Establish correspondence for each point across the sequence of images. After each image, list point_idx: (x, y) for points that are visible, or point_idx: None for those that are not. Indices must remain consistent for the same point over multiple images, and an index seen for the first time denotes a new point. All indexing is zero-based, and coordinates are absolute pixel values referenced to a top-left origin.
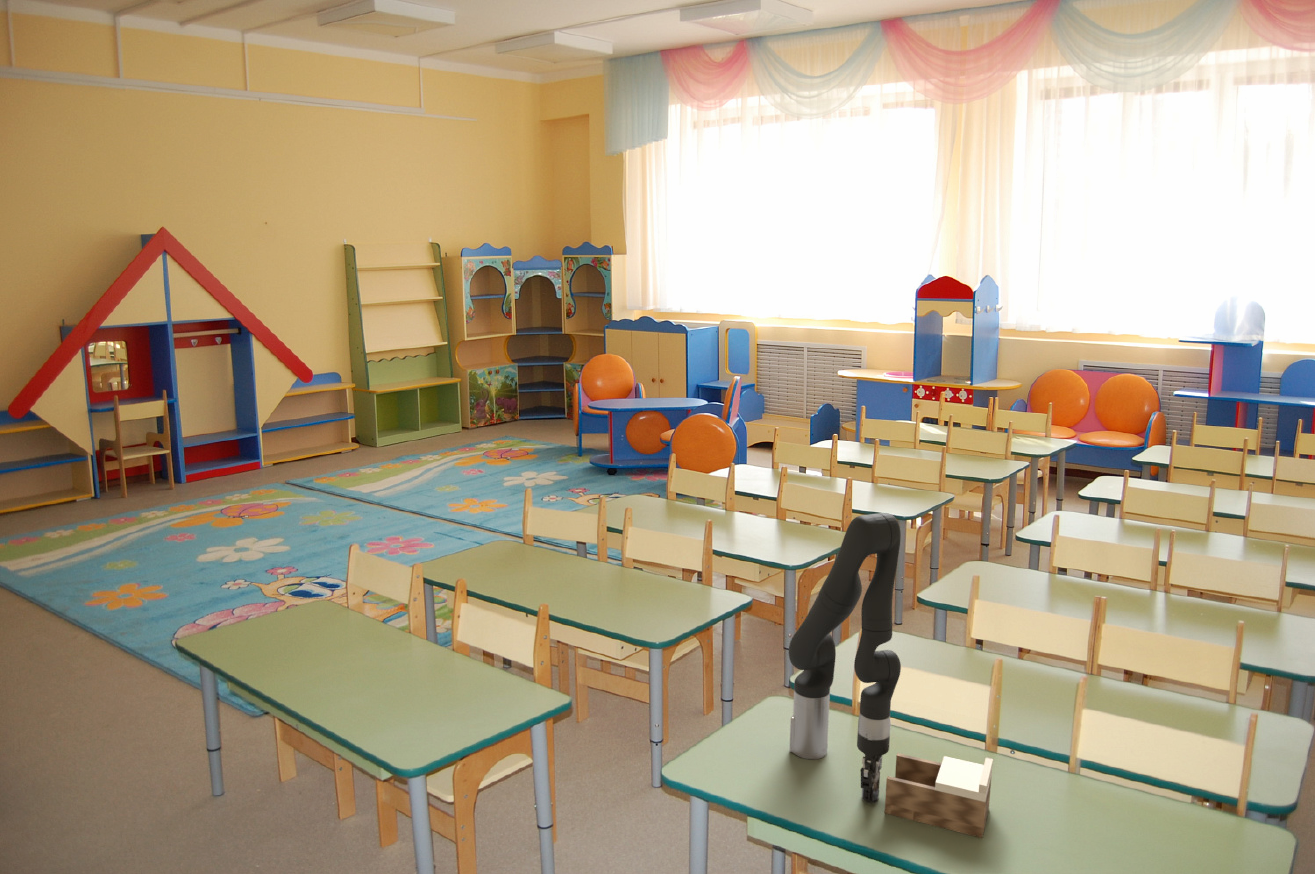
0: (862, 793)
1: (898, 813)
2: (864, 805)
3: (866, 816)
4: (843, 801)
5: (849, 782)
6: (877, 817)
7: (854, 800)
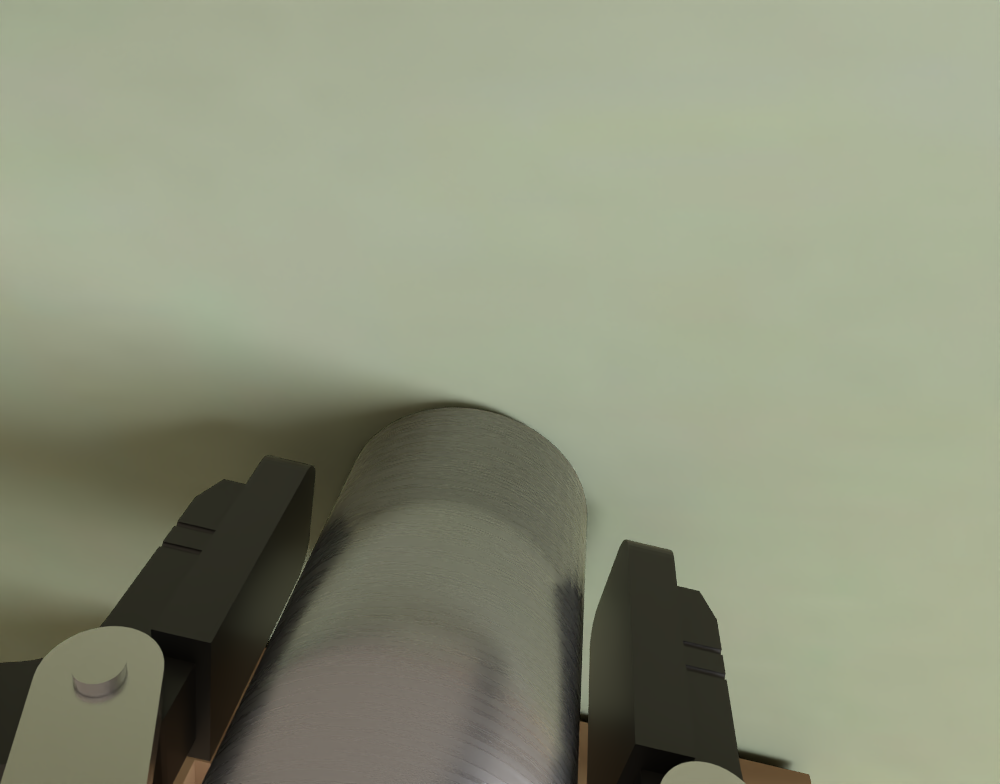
0: (391, 466)
1: None
2: (277, 430)
3: (40, 443)
4: (255, 119)
5: (917, 216)
6: (90, 553)
7: (352, 300)
